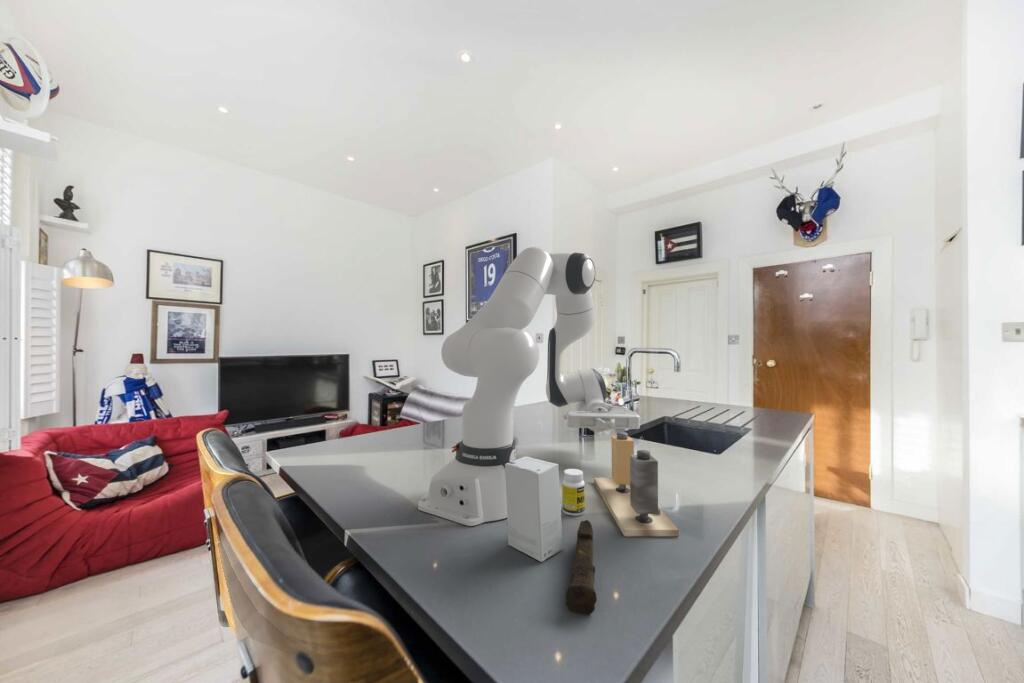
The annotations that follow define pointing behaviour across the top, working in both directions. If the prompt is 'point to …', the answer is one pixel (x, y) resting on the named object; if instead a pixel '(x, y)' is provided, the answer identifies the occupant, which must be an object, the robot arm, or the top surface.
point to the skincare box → (533, 507)
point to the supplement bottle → (573, 492)
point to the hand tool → (582, 573)
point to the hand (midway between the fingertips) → (609, 425)
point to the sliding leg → (621, 459)
